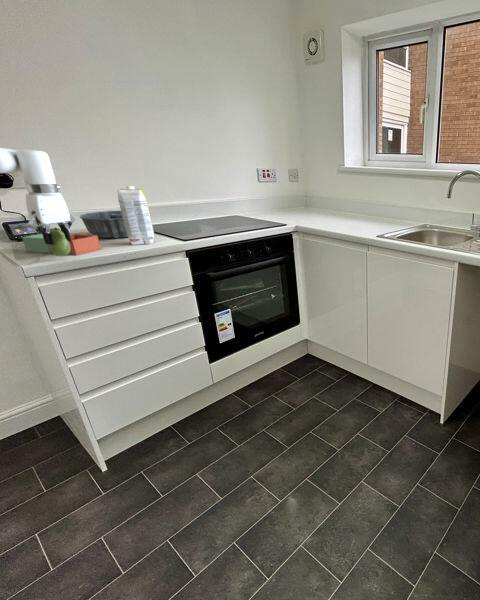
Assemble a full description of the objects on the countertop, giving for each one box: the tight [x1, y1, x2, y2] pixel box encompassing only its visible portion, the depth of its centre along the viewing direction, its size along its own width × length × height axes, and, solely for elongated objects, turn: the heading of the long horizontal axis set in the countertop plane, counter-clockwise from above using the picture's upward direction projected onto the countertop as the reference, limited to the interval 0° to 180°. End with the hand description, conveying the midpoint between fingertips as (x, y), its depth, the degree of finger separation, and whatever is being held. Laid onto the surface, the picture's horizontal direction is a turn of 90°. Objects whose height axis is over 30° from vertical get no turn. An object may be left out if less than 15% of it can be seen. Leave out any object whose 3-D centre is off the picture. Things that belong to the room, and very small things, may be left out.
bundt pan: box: [79, 210, 128, 239], centre depth 166 cm, size 26×26×10 cm
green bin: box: [21, 233, 73, 254], centre depth 139 cm, size 10×10×6 cm
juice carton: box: [117, 185, 155, 246], centre depth 150 cm, size 9×8×24 cm
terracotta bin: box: [68, 233, 102, 256], centre depth 137 cm, size 10×10×6 cm
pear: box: [49, 227, 71, 257], centre depth 125 cm, size 6×5×10 cm
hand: (58, 242), depth 125 cm, fingers closed on pear, 4 cm apart
